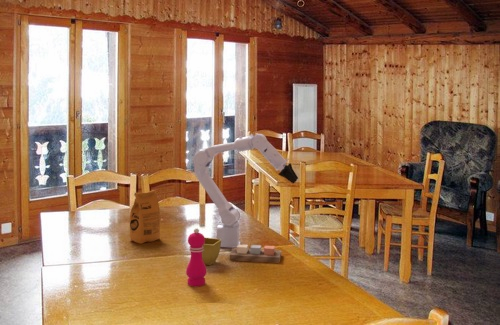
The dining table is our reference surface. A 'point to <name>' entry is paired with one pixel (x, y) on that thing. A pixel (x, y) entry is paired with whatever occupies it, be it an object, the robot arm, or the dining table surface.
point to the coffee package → (145, 218)
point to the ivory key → (242, 249)
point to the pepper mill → (196, 260)
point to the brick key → (269, 250)
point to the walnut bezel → (255, 256)
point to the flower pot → (211, 250)
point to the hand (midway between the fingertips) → (295, 180)
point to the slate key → (255, 249)
